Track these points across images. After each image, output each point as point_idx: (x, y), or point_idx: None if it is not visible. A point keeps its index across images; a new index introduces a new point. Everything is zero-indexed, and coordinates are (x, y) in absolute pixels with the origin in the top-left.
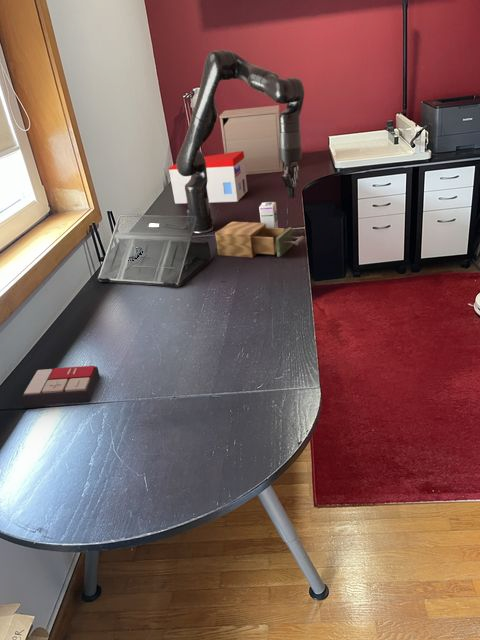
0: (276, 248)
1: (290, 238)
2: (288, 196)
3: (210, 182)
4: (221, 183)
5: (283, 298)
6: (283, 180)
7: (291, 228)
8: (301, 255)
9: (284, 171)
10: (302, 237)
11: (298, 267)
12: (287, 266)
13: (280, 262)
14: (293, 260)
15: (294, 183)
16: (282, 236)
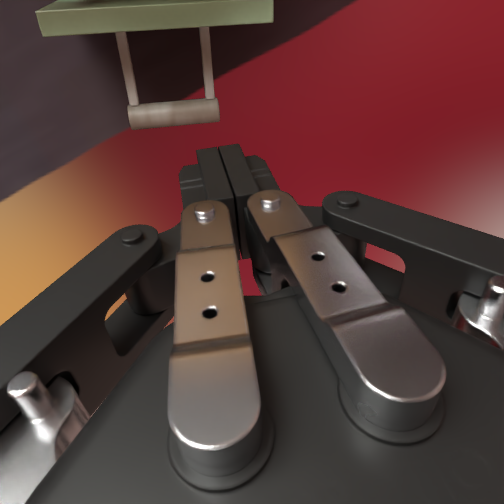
0: (49, 4)
1: (199, 36)
2: (197, 153)
3: None
4: None
5: None
6: (8, 329)
7: (264, 22)
8: None
9: (169, 370)
10: (200, 121)
11: (27, 157)
12: (8, 103)
13: (32, 41)
14: (88, 96)
15: (258, 280)
16: (109, 31)
